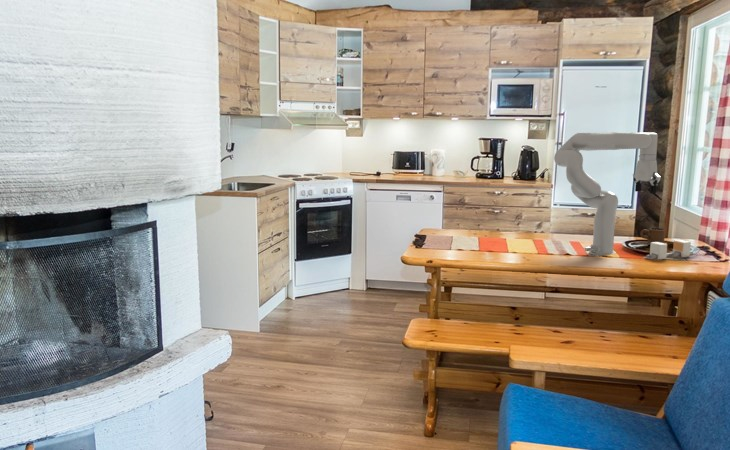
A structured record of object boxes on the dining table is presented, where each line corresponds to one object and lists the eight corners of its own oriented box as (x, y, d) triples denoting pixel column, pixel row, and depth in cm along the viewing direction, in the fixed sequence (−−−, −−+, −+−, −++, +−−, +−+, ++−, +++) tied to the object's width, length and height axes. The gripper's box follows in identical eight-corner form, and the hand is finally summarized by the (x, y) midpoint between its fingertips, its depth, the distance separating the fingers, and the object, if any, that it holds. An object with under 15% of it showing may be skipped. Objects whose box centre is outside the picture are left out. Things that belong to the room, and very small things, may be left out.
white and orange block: (681, 257, 272) (683, 242, 271) (671, 254, 278) (672, 240, 277) (689, 256, 274) (690, 242, 273) (679, 253, 279) (680, 239, 278)
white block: (659, 259, 269) (660, 244, 267) (649, 256, 274) (650, 242, 273) (667, 258, 270) (668, 244, 269) (657, 255, 276) (658, 241, 274)
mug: (642, 247, 300) (643, 230, 298) (637, 244, 307) (638, 227, 306) (666, 248, 298) (667, 230, 297) (660, 245, 306) (661, 227, 304)
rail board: (653, 262, 267) (653, 256, 267) (641, 259, 274) (642, 253, 273) (696, 258, 275) (697, 252, 274) (684, 255, 281) (685, 249, 281)
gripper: (628, 157, 290) (626, 190, 293) (655, 159, 274) (652, 194, 277) (640, 156, 292) (638, 190, 295) (667, 158, 276) (664, 193, 279)
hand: (645, 192), depth 286 cm, fingers open, 9 cm apart
